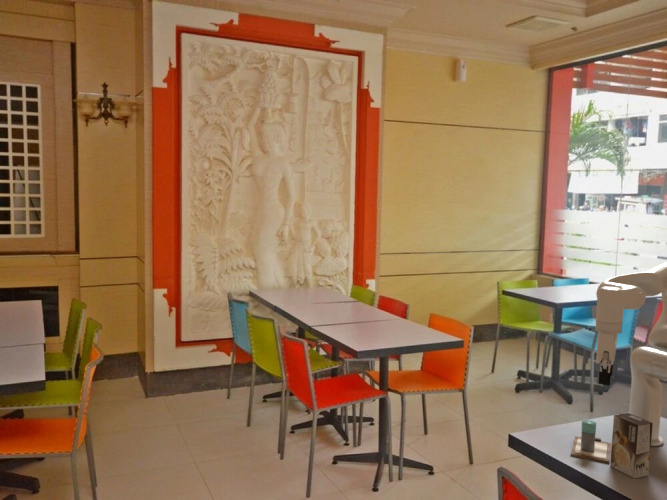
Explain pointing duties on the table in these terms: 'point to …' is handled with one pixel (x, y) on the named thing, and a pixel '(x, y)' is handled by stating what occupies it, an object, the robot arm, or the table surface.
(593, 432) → the teal capped cylinder
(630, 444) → the coffee box
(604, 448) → the clipboard
